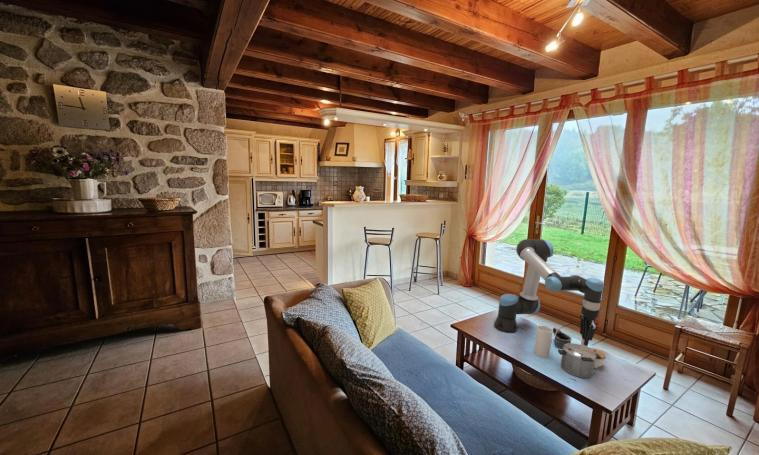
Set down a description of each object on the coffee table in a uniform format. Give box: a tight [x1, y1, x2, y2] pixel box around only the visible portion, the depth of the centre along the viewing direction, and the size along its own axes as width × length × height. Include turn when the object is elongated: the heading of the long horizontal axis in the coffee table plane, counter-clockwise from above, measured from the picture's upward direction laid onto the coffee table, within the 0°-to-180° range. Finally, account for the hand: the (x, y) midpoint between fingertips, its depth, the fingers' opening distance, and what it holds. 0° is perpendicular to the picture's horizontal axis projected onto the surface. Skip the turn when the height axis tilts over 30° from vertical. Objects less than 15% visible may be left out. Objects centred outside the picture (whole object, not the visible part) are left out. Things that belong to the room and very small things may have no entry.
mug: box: [552, 326, 573, 349], centre depth 202 cm, size 10×12×10 cm
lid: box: [562, 342, 596, 362], centre depth 174 cm, size 17×15×2 cm
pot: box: [557, 348, 601, 379], centre depth 177 cm, size 16×21×10 cm
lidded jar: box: [588, 347, 607, 369], centre depth 182 cm, size 11×11×9 cm
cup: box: [533, 324, 554, 358], centre depth 191 cm, size 8×8×16 cm
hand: (583, 349), depth 171 cm, fingers closed
